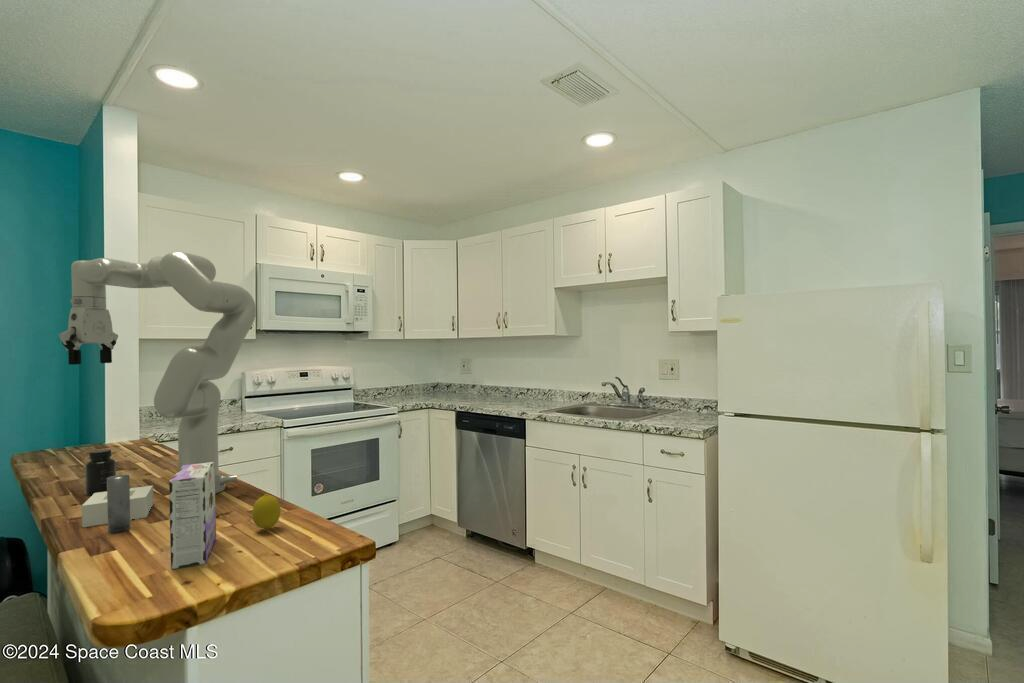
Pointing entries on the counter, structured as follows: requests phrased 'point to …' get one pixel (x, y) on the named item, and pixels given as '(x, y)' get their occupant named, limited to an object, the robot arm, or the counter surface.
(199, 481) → the candy box
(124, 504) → the peg
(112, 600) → the counter surface
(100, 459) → the supplement bottle
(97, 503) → the socket block
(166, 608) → the counter surface
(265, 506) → the lemon
